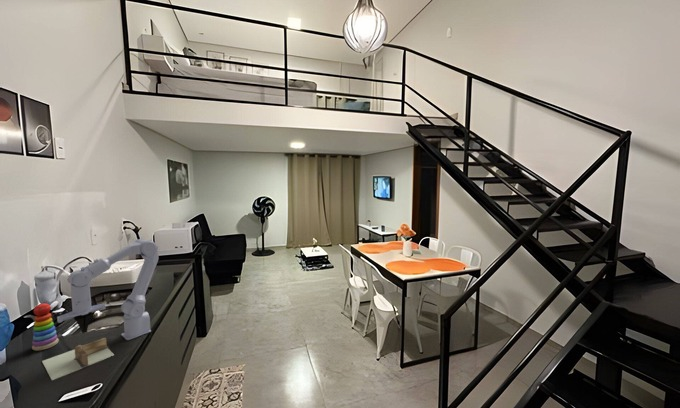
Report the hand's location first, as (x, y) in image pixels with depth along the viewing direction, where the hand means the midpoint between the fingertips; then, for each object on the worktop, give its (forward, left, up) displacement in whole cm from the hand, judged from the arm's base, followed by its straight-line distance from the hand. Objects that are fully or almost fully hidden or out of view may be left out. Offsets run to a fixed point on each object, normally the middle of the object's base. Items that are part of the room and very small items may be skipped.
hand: (84, 331), depth 115 cm
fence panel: (+2, +7, -9) cm, 11 cm away
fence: (-1, +2, -9) cm, 10 cm away
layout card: (+3, +2, -9) cm, 10 cm away
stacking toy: (+9, -21, -10) cm, 24 cm away
